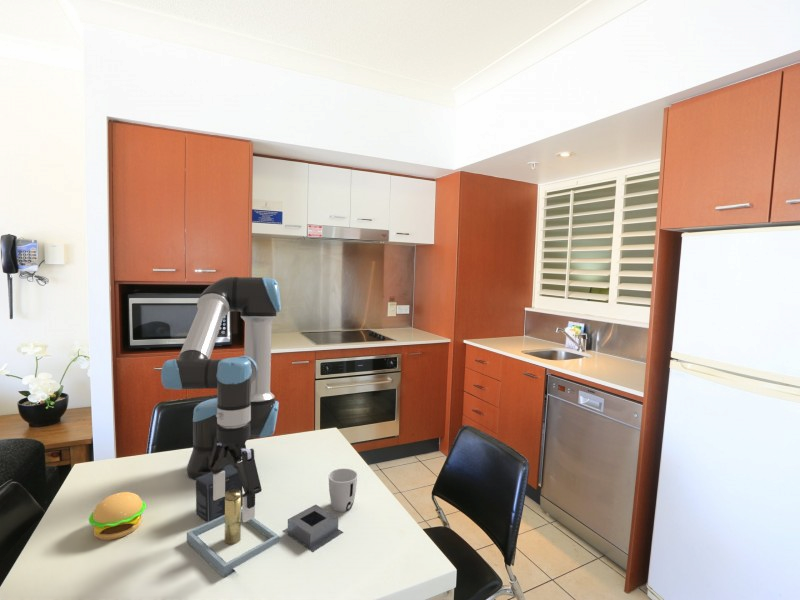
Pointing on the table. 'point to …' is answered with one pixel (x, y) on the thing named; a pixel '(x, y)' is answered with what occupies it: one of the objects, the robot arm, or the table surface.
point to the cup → (342, 489)
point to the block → (313, 527)
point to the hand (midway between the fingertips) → (233, 508)
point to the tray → (228, 567)
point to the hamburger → (117, 515)
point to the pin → (232, 516)
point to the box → (204, 494)
